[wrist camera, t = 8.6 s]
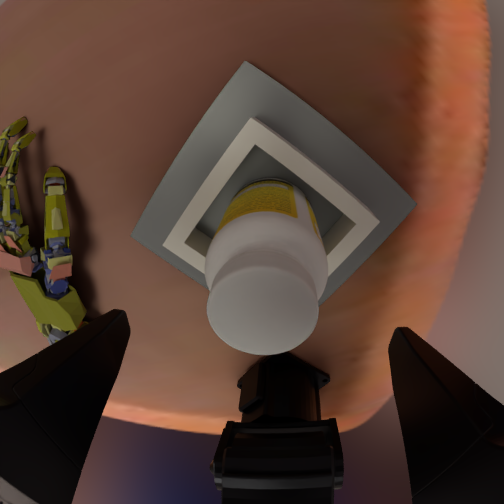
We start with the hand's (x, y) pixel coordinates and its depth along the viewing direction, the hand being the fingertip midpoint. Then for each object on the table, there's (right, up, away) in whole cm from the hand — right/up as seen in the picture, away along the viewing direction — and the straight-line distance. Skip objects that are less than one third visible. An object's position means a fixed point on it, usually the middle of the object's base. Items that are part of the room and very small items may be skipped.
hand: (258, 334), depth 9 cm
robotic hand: (-18, +2, +15) cm, 24 cm away
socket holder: (+1, +5, +11) cm, 12 cm away
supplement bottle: (+1, +5, +10) cm, 11 cm away
